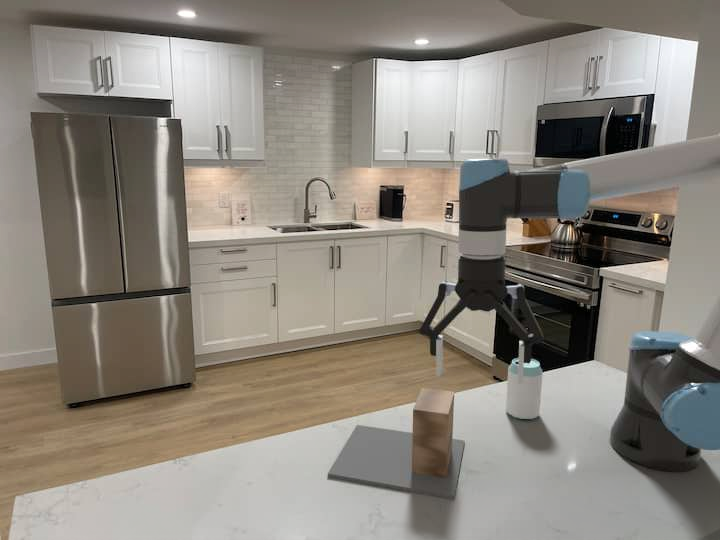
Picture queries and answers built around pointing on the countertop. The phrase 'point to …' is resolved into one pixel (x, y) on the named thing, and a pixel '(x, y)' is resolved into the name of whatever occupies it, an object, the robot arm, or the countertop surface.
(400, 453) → the mat
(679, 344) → the robot arm
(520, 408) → the can
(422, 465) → the walnut block
